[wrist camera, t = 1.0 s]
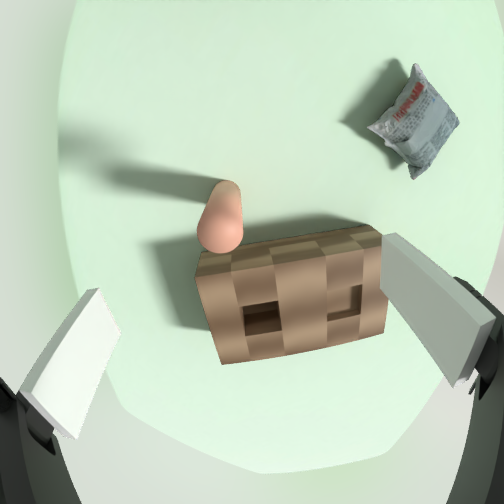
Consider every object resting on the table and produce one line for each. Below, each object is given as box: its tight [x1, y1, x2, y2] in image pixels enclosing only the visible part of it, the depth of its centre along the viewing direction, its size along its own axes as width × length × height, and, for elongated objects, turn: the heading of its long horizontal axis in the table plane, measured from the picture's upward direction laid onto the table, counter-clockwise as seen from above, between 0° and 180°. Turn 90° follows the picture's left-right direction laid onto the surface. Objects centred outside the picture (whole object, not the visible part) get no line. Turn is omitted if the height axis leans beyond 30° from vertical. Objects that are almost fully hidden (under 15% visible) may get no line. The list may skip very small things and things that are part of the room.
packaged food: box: [367, 63, 459, 180], centre depth 24 cm, size 9×12×5 cm
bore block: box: [194, 225, 389, 365], centre depth 31 cm, size 12×20×6 cm, turn 99°
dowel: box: [197, 180, 243, 253], centre depth 23 cm, size 3×3×12 cm
